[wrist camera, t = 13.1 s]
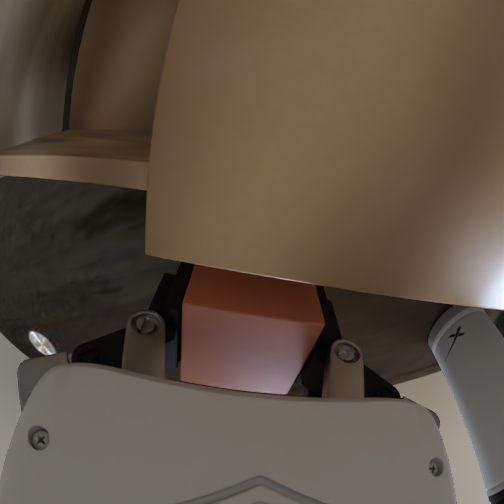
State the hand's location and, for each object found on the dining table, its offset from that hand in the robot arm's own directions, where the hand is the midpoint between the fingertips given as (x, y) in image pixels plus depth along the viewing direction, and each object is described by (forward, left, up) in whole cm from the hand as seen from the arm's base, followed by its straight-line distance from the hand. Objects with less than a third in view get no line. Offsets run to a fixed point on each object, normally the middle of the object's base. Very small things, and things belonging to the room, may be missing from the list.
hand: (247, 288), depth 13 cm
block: (0, 0, 0) cm, 0 cm away
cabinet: (-8, +7, -4) cm, 12 cm away
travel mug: (+11, +17, -5) cm, 21 cm away
